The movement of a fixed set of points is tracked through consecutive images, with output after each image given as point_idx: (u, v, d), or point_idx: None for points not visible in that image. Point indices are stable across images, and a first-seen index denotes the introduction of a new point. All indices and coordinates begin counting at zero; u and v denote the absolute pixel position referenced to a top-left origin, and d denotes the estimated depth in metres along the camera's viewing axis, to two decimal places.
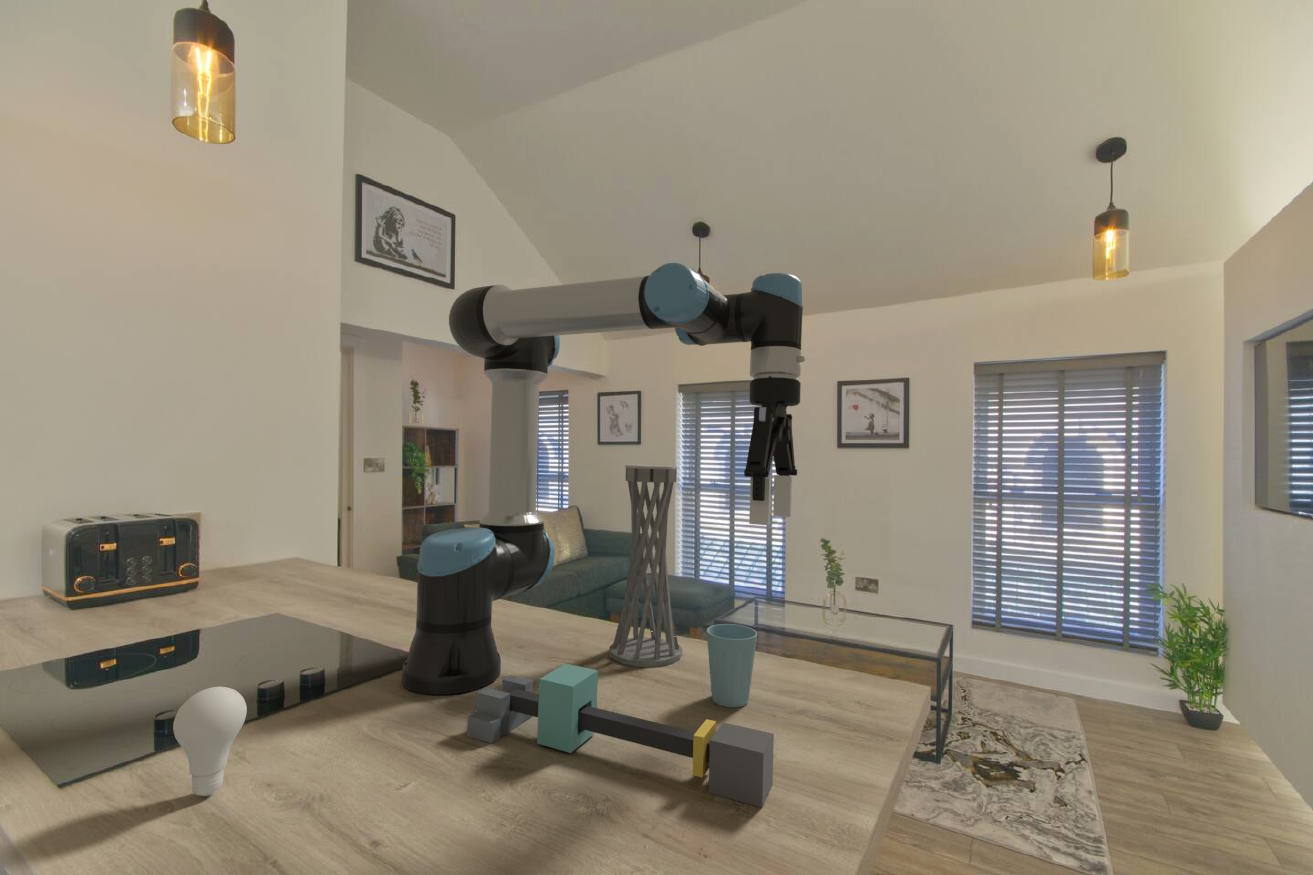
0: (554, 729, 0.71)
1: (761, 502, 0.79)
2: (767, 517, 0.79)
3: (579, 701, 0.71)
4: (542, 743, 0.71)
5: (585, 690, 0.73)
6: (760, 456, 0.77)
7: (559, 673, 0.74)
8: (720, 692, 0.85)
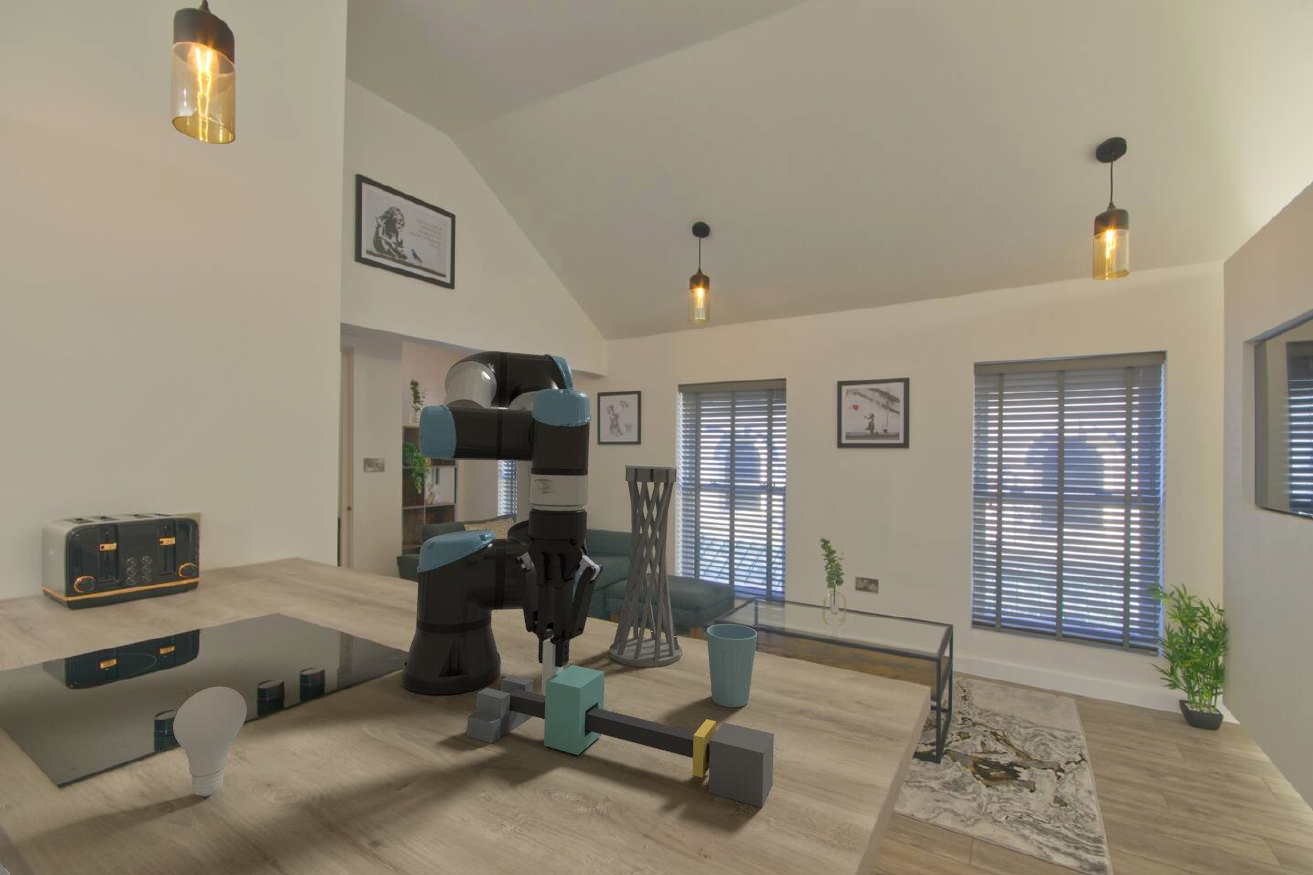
0: (561, 731, 0.70)
1: None
2: (542, 683, 0.74)
3: (586, 703, 0.71)
4: (549, 745, 0.71)
5: (592, 692, 0.72)
6: None
7: (566, 674, 0.74)
8: (720, 692, 0.85)
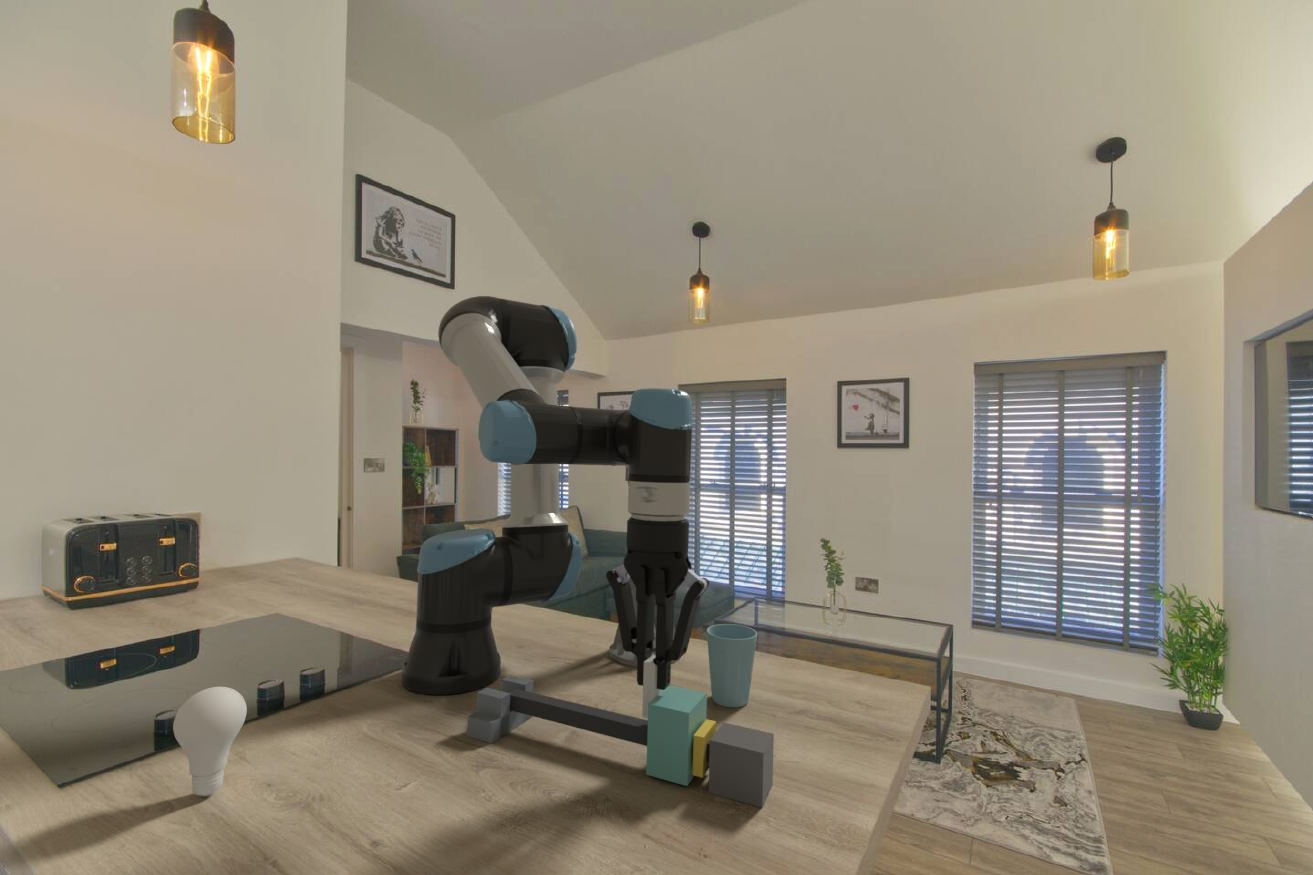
0: (667, 759, 0.65)
1: None
2: None
3: (693, 729, 0.65)
4: (652, 774, 0.65)
5: (697, 716, 0.66)
6: None
7: (667, 696, 0.68)
8: (720, 692, 0.85)
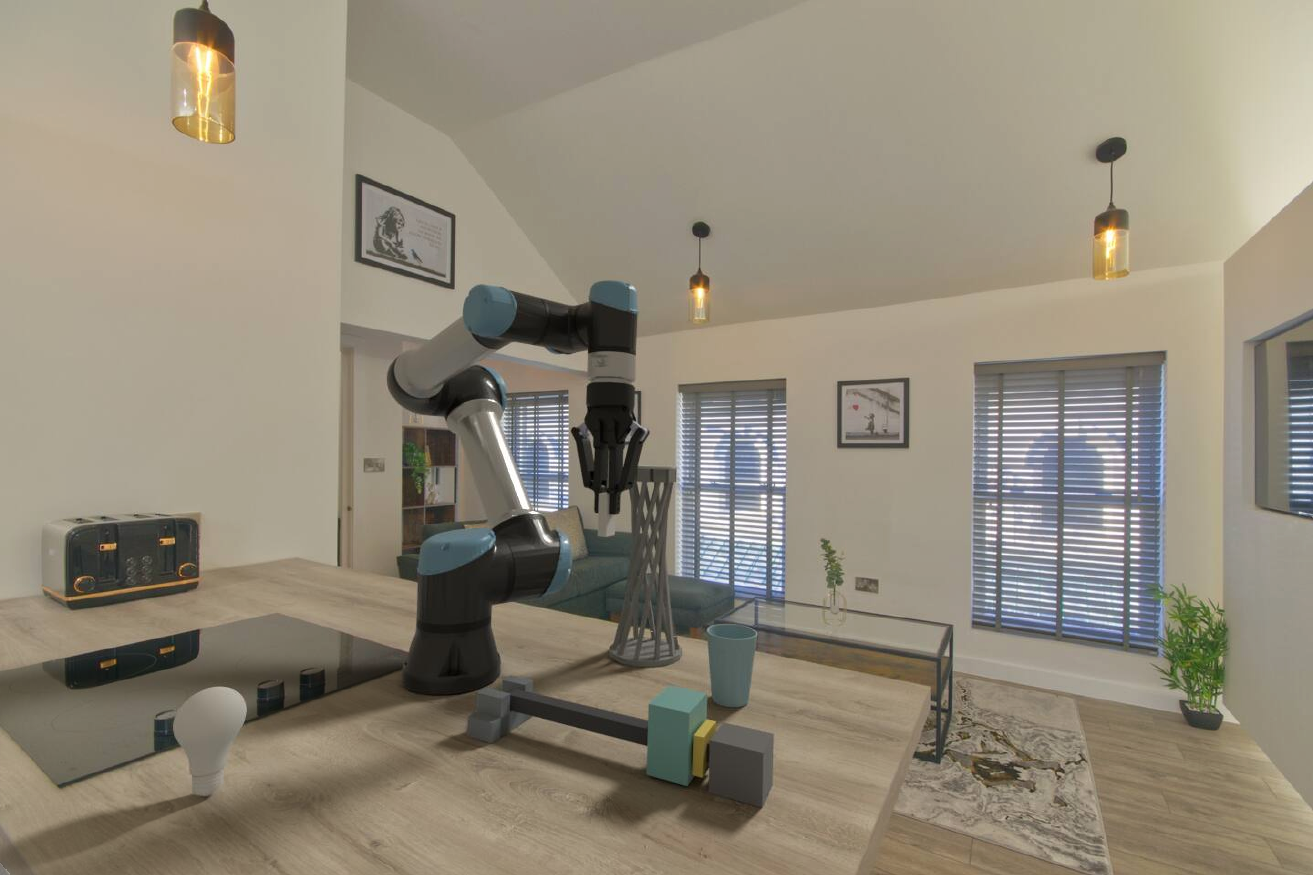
0: (667, 759, 0.65)
1: None
2: (598, 528, 0.87)
3: (693, 729, 0.65)
4: (653, 774, 0.65)
5: (697, 716, 0.66)
6: None
7: (667, 696, 0.68)
8: (720, 692, 0.85)
